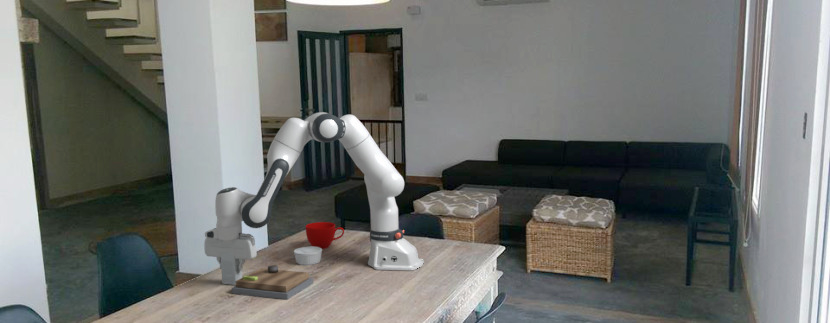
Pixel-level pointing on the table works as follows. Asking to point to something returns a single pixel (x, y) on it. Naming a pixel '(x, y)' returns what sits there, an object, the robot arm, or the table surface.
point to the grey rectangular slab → (273, 293)
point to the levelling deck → (272, 279)
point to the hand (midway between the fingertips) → (231, 269)
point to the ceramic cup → (321, 234)
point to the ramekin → (308, 255)
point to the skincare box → (229, 268)
